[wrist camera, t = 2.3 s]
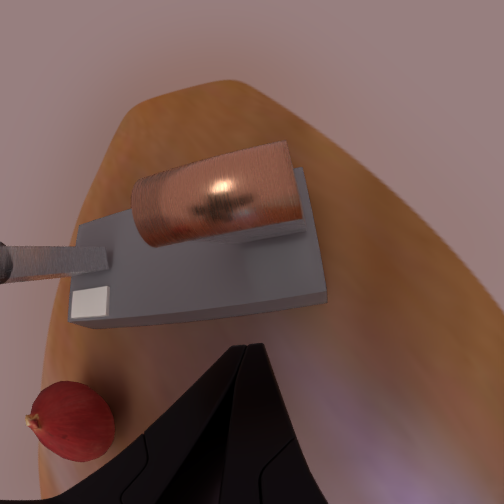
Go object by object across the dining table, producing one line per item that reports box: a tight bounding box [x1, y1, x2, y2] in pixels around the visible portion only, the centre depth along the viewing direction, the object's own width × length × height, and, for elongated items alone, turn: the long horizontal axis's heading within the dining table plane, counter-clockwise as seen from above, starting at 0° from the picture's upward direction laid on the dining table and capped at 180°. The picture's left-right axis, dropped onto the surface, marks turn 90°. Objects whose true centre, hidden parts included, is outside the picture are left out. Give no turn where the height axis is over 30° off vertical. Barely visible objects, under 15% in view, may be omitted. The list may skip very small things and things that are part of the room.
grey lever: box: [0, 242, 109, 284], centre depth 14 cm, size 2×4×10 cm, turn 95°
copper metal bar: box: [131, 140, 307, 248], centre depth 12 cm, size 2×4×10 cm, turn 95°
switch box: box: [68, 167, 327, 329], centre depth 20 cm, size 8×18×3 cm, turn 96°
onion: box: [25, 381, 115, 462], centre depth 15 cm, size 6×6×8 cm
